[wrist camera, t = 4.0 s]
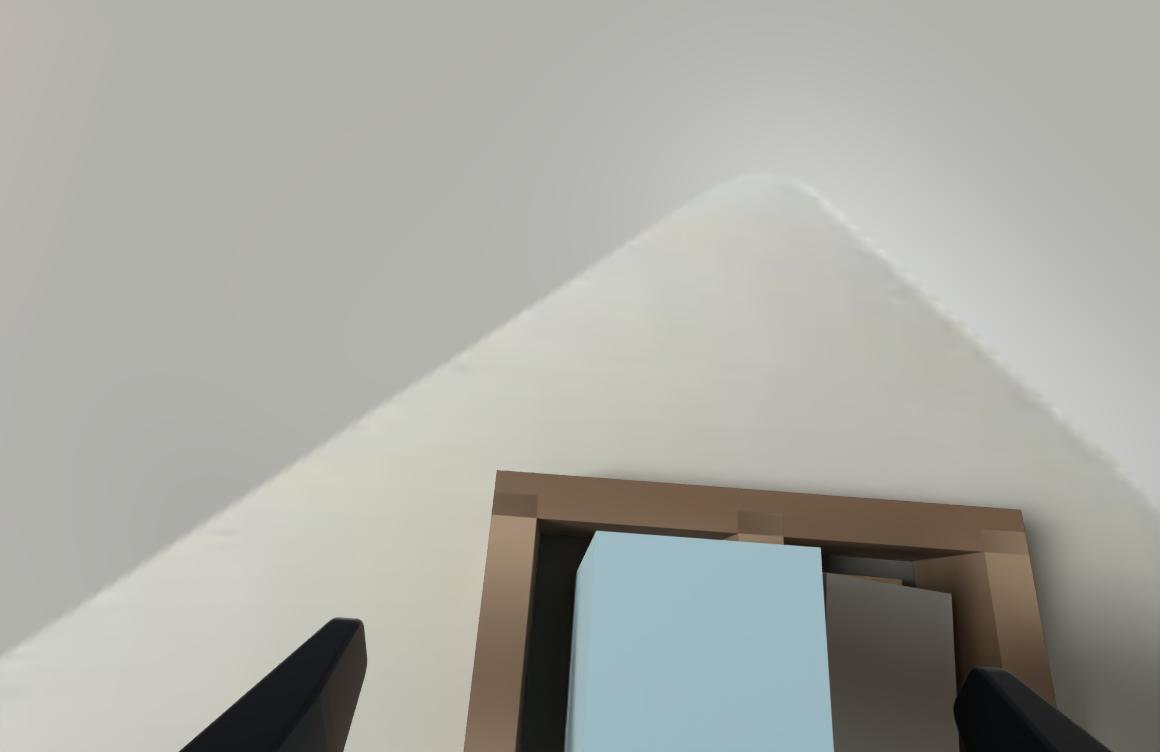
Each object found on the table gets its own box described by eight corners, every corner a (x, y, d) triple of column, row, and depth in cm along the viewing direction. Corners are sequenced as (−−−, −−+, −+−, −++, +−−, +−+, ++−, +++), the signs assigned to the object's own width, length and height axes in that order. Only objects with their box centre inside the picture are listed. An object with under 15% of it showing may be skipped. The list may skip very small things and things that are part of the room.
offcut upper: (925, 845, 14) (965, 871, 12) (796, 820, 14) (821, 842, 12) (917, 596, 15) (951, 593, 14) (804, 576, 16) (827, 573, 14)
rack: (996, 910, 14) (1106, 986, 11) (465, 871, 14) (441, 938, 11) (944, 526, 17) (1021, 509, 14) (507, 493, 17) (496, 470, 14)
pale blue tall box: (665, 807, 14) (860, 1171, 5) (559, 799, 14) (560, 1150, 5) (669, 582, 16) (820, 546, 7) (575, 575, 16) (596, 531, 7)
